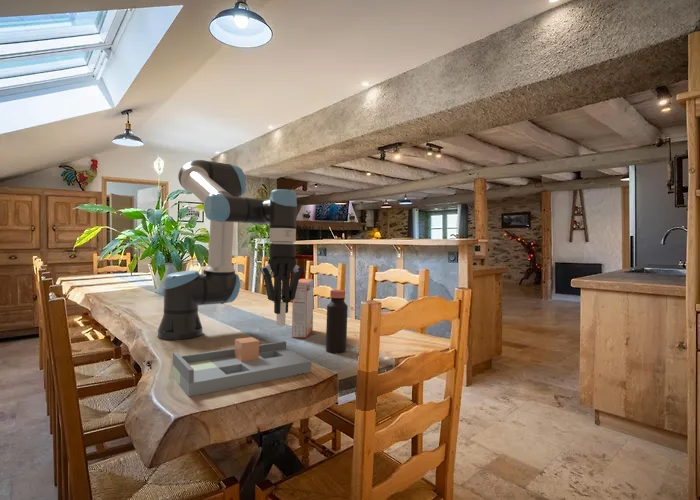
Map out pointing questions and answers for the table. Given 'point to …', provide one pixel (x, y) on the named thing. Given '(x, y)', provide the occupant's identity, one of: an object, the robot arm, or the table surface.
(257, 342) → the terracotta block
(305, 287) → the cracker box
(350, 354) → the table surface
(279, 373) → the board
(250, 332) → the table surface
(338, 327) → the bottle
